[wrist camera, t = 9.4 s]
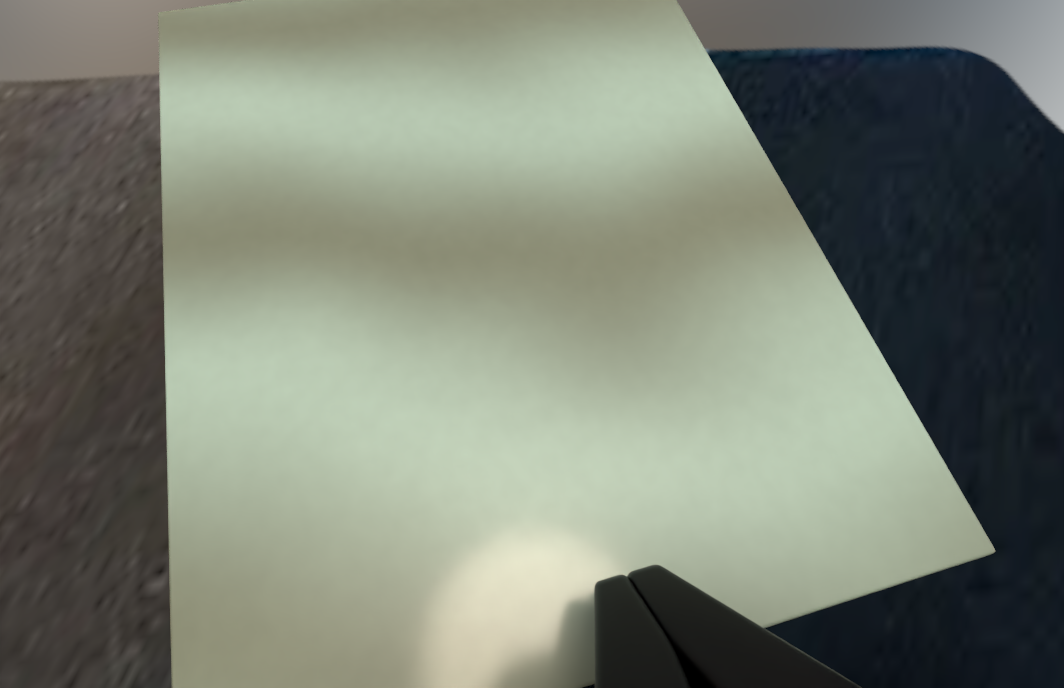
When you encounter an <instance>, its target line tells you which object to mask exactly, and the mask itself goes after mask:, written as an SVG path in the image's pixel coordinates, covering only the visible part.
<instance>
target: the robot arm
mask: <svg viewBox="0 0 1064 688" xmlns="http://www.w3.org/2000/svg"><path fill="white" fill-rule="evenodd" d="M594 627H595V688H862V687H860V686H859V685H857V684H855V683H854V682H852V681H850V680H849V679H847V678H845V677H844V676H842V675H840V674H839V673H837V672H835V671H834V670H832V669H831V668H829V667H827V666H826V665H824V664H822V663H821V662H819V661H817V660H816V659H814V658H812V657H811V656H809V655H807V654H806V653H804V652H803V651H801V650H799V649H798V648H796V647H794V646H793V645H791V644H789V643H788V642H786V641H784V640H783V639H781V638H779V637H778V636H776V635H774V634H773V633H771V632H770V631H768V630H766V629H765V628H763V627H761V626H760V625H758V624H756V623H755V622H753V621H751V620H750V619H748V618H746V617H745V616H743V615H741V614H740V613H738V612H737V611H735V610H733V609H732V608H730V607H728V606H727V605H725V604H723V603H722V602H720V601H718V600H717V599H715V598H713V597H712V596H710V595H709V594H707V593H705V592H704V591H702V590H700V589H699V588H697V587H695V586H694V585H692V584H690V583H689V582H687V581H685V580H684V579H682V578H680V577H679V576H677V575H676V574H674V573H672V572H671V571H669V570H667V569H666V568H664V567H662V566H660V565H650V566H647V567H644V568H640V569H637V570H634V571H631V572H630V573H629V574H628V575H627V576H625V575H622V574H621V575H617V576H614V577H610V578H607V579H604V580H600V581H598V582H597V583H596V584H595V588H594Z"/></svg>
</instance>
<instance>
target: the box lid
mask: <svg viewBox="0 0 1064 688" xmlns="http://www.w3.org/2000/svg"><path fill="white" fill-rule="evenodd" d="M158 26H159V27H158V28H159V78H160V127H161V177H162V227H163V276H164V326H165V376H166V425H167V475H168V524H169V574H170V624H171V673H172V688H583V687H586V686H589V685H592V684H595V627H594V588H595V584H596V583H597V582H598V581H600V580H604V579H607V578H610V577H614V576H617V575H621V574H622V575H625V576H627V575H628V574H629V573H630V572H631V571H634V570H637V569H640V568H644V567H647V566H650V565H660V566H662V567H664V568H666V569H667V570H669V571H671V572H672V573H674V574H676V575H677V576H679V577H680V578H682V579H684V580H685V581H687V582H689V583H690V584H692V585H694V586H695V587H697V588H699V589H700V590H702V591H704V592H705V593H707V594H709V595H710V596H712V597H713V598H715V599H717V600H718V601H720V602H722V603H723V604H725V605H727V606H728V607H730V608H732V609H733V610H735V611H737V612H738V613H740V614H741V615H743V616H745V617H746V618H748V619H750V620H751V621H753V622H755V623H756V624H758V625H760V626H761V627H763V628H767V627H770V626H773V625H776V624H779V623H782V622H785V621H788V620H791V619H794V618H797V617H801V616H804V615H807V614H810V613H813V612H816V611H819V610H822V609H825V608H828V607H831V606H834V605H837V604H840V603H843V602H847V601H850V600H853V599H856V598H859V597H862V596H865V595H868V594H871V593H874V592H877V591H880V590H883V589H886V588H889V587H892V586H896V585H899V584H902V583H905V582H908V581H911V580H914V579H917V578H920V577H923V576H926V575H929V574H932V573H935V572H938V571H942V570H945V569H948V568H951V567H954V566H957V565H960V564H963V563H966V562H969V561H972V560H975V559H978V558H981V557H984V556H988V555H991V554H993V553H994V552H995V549H994V547H993V545H992V544H991V542H990V540H989V538H988V537H987V535H986V533H985V532H984V530H983V528H982V526H981V525H980V523H979V521H978V519H977V518H976V516H975V514H974V513H973V511H972V509H971V507H970V506H969V504H968V502H967V500H966V499H965V497H964V495H963V494H962V492H961V490H960V488H959V487H958V485H957V483H956V482H955V480H954V478H953V476H952V475H951V473H950V471H949V469H948V468H947V466H946V464H945V463H944V461H943V459H942V457H941V456H940V454H939V452H938V450H937V449H936V447H935V445H934V444H933V442H932V440H931V438H930V437H929V435H928V433H927V432H926V430H925V428H924V426H923V425H922V423H921V421H920V419H919V418H918V416H917V414H916V413H915V411H914V409H913V407H912V406H911V404H910V402H909V400H908V399H907V397H906V395H905V394H904V392H903V390H902V388H901V387H900V385H899V383H898V382H897V380H896V378H895V376H894V375H893V373H892V371H891V369H890V368H889V366H888V364H887V363H886V361H885V359H884V357H883V356H882V354H881V352H880V350H879V349H878V347H877V345H876V344H875V342H874V340H873V338H872V337H871V335H870V333H869V331H868V330H867V328H866V326H865V325H864V323H863V321H862V319H861V318H860V316H859V314H858V313H857V311H856V309H855V307H854V306H853V304H852V302H851V300H850V299H849V297H848V295H847V294H846V292H845V290H844V288H843V287H842V285H841V283H840V281H839V280H838V278H837V276H836V275H835V273H834V271H833V269H832V268H831V266H830V264H829V263H828V261H827V259H826V257H825V256H824V254H823V252H822V250H821V249H820V247H819V245H818V244H817V242H816V240H815V238H814V237H813V235H812V233H811V231H810V230H809V228H808V226H807V225H806V223H805V221H804V219H803V218H802V216H801V214H800V213H799V211H798V209H797V207H796V206H795V204H794V202H793V200H792V199H791V197H790V195H789V194H788V192H787V190H786V188H785V187H784V185H783V183H782V181H781V180H780V178H779V176H778V175H777V173H776V171H775V169H774V168H773V166H772V164H771V162H770V161H769V159H768V157H767V156H766V154H765V152H764V150H763V149H762V147H761V145H760V144H759V142H758V140H757V138H756V137H755V135H754V133H753V131H752V130H751V128H750V126H749V125H748V123H747V121H746V119H745V118H744V116H743V114H742V112H741V111H740V109H739V107H738V106H737V104H736V102H735V100H734V99H733V97H732V95H731V94H730V92H729V90H728V88H727V87H726V85H725V83H724V81H723V80H722V78H721V76H720V75H719V73H718V71H717V69H716V68H715V66H714V64H713V62H712V61H711V59H710V57H709V56H708V54H707V52H706V50H705V49H704V47H703V45H702V44H701V42H700V40H699V38H698V37H697V35H696V33H695V31H694V30H693V28H692V26H691V25H690V23H689V21H688V19H687V18H686V16H685V14H684V13H683V11H682V9H681V7H680V6H679V4H678V2H677V0H244V1H237V2H230V3H223V4H215V5H209V6H201V7H195V8H187V9H180V10H174V11H166V12H160V13H158Z"/></svg>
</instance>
